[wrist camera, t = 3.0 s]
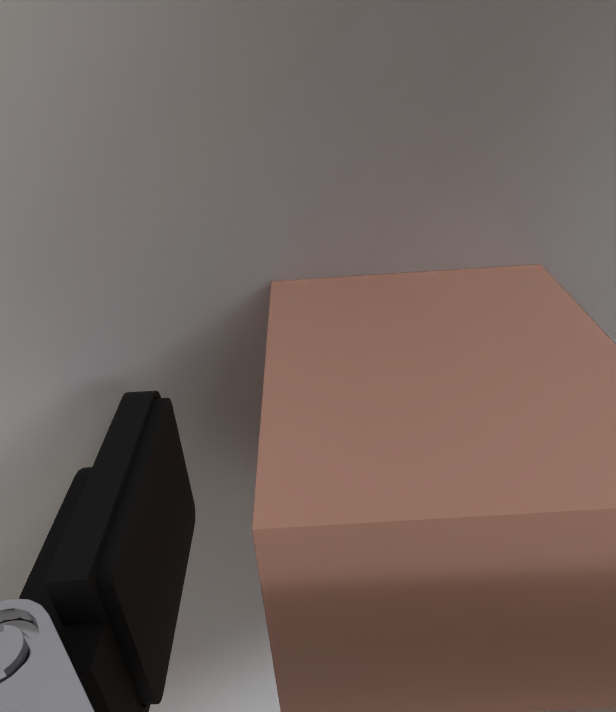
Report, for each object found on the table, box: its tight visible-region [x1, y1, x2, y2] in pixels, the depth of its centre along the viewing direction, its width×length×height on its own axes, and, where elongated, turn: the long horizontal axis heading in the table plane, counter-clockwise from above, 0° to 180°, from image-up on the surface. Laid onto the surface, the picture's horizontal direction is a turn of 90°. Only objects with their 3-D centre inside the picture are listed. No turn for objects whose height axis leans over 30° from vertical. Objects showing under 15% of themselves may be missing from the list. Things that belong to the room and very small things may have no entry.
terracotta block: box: [252, 264, 616, 712], centre depth 10 cm, size 5×5×6 cm
